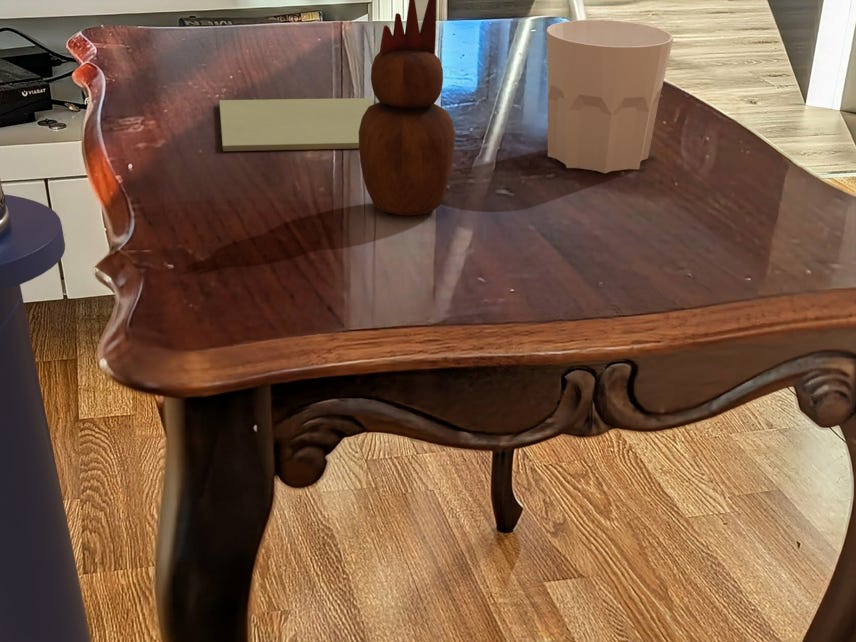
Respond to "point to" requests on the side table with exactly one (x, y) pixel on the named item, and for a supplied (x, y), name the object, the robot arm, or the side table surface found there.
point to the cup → (604, 91)
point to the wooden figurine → (407, 121)
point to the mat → (291, 123)
